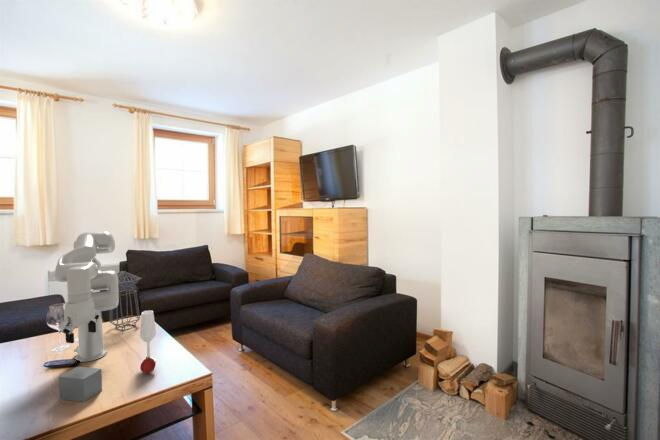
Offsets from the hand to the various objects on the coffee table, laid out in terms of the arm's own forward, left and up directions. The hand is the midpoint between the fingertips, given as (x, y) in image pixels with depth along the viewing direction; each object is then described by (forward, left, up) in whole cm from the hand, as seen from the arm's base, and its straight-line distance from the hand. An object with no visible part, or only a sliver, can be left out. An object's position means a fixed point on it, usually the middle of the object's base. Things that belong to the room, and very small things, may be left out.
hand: (81, 337), depth 131 cm
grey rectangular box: (+5, -6, -20) cm, 22 cm away
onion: (+20, +12, -21) cm, 31 cm away
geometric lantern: (-34, +58, -21) cm, 70 cm away
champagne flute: (+12, +22, -21) cm, 33 cm away
